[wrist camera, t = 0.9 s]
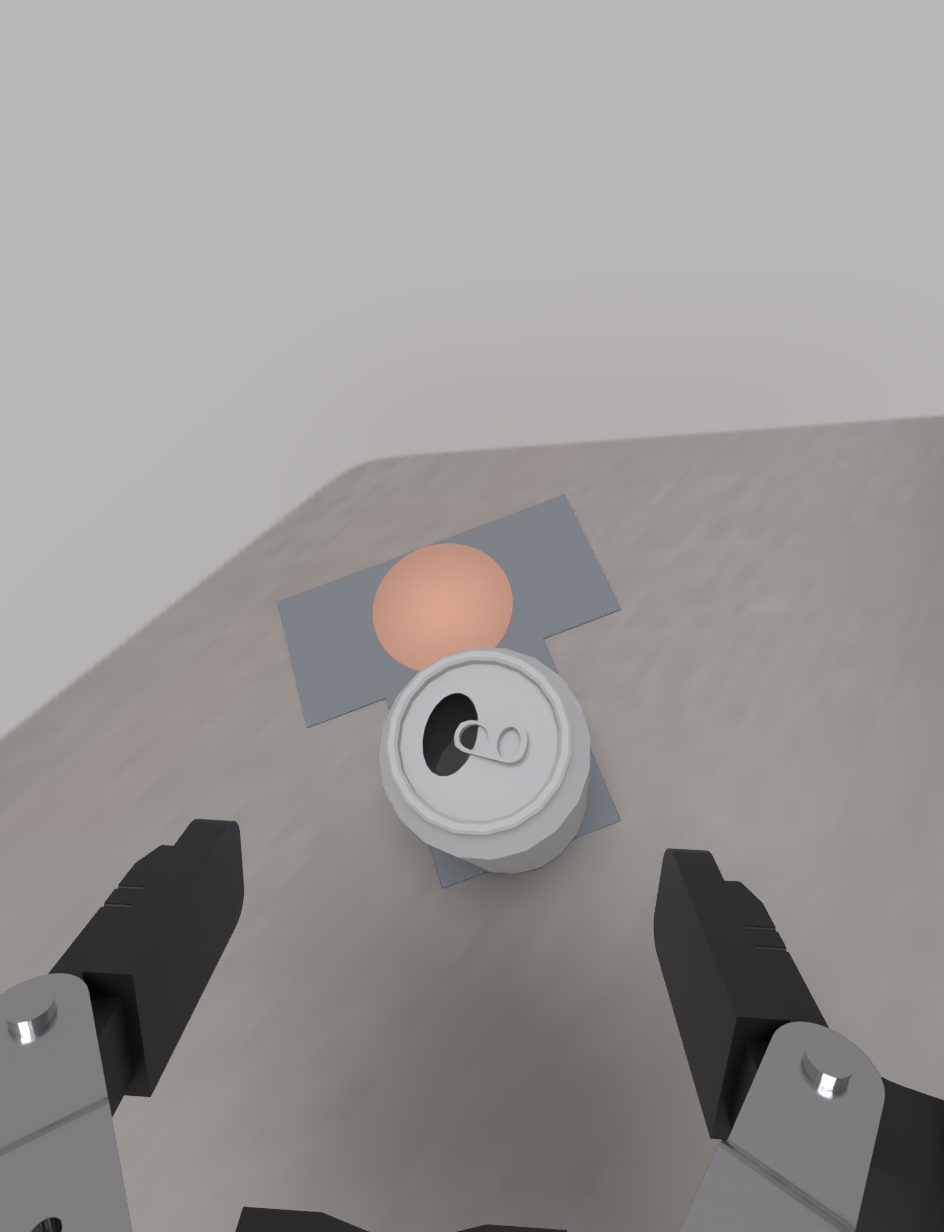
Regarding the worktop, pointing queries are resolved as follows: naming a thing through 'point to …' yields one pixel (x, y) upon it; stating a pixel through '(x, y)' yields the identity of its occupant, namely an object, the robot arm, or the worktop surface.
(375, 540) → the worktop surface
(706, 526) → the worktop surface
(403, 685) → the t mat
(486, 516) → the worktop surface
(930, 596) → the worktop surface
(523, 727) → the can
